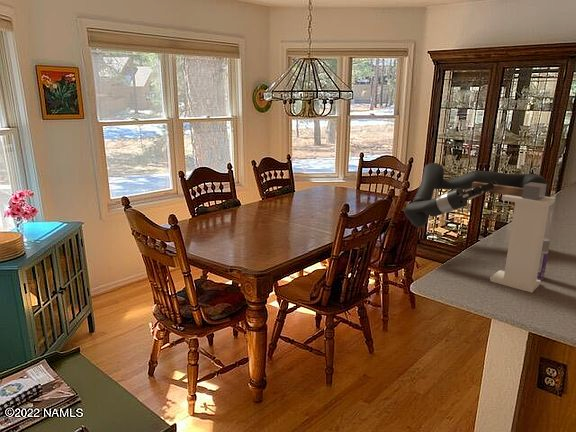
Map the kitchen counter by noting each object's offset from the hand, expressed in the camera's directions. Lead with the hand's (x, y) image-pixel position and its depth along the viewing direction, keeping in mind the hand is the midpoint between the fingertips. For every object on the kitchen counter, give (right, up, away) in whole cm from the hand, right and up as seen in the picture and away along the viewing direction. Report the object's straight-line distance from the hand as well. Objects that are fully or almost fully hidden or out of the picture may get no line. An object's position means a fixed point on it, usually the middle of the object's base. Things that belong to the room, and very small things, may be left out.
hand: (494, 184), depth 154 cm
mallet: (+3, -3, -2) cm, 5 cm away
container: (+19, -35, +7) cm, 40 cm away
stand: (+8, -36, +1) cm, 37 cm away
